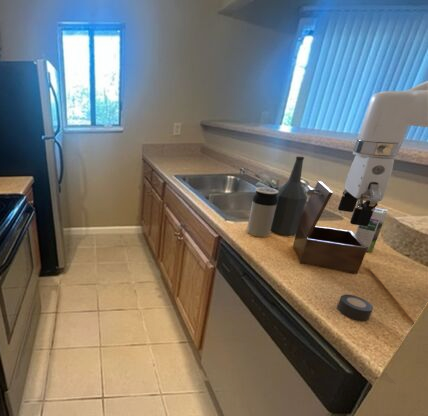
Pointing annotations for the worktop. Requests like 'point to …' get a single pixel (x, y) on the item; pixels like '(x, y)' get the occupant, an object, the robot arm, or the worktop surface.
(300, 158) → the bottle
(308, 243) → the bin
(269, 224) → the travel mug
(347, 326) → the worktop surface
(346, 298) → the tape
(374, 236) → the syrup box
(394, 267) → the worktop surface
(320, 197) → the lid
